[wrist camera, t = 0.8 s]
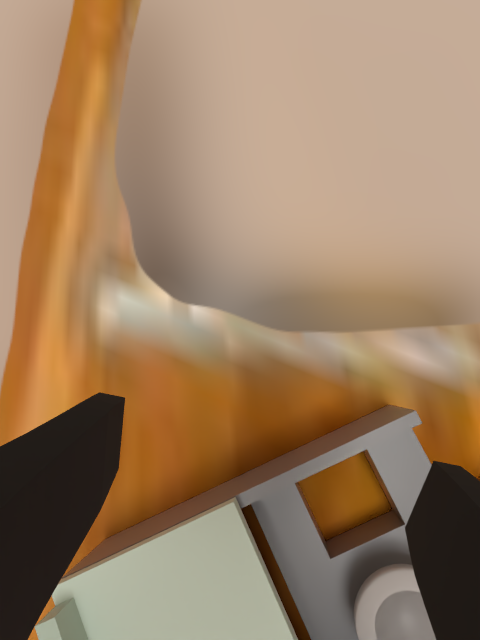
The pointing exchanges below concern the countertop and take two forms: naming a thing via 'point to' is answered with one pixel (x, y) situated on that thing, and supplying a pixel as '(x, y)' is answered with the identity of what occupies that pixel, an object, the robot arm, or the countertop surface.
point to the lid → (175, 588)
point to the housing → (308, 542)
